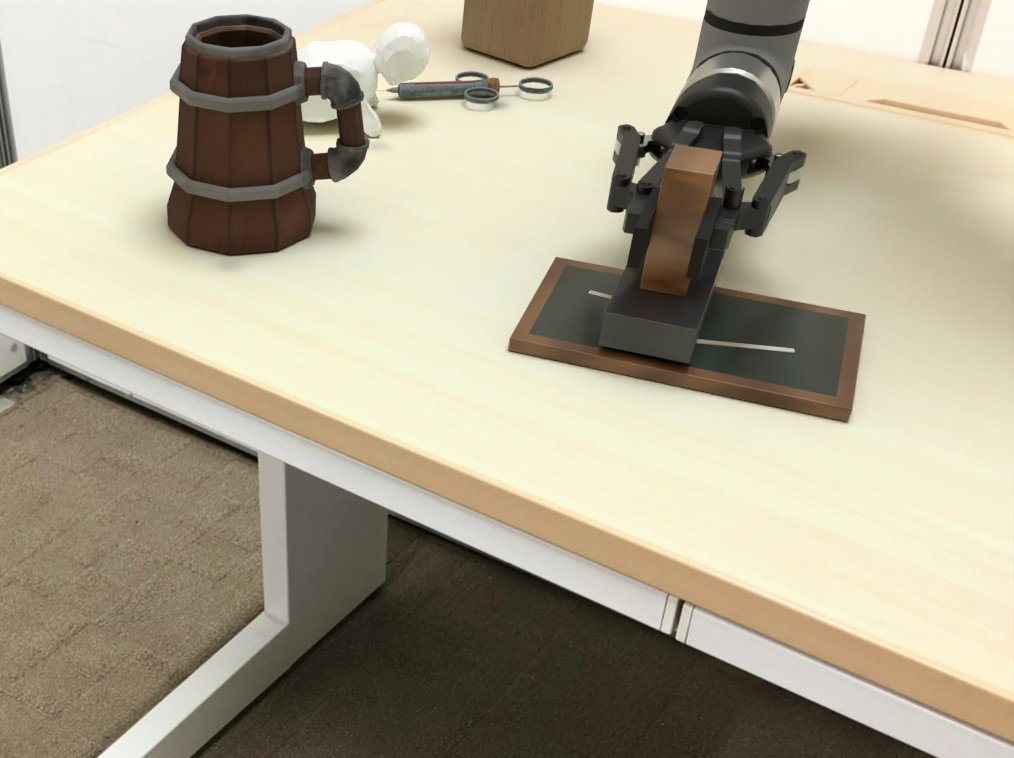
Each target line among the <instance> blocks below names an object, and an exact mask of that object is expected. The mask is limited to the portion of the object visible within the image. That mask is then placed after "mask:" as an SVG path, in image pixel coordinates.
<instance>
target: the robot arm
mask: <svg viewBox="0 0 1014 758" xmlns="http://www.w3.org/2000/svg"><path fill="white" fill-rule="evenodd" d="M810 1H811V0H707V1H706V5H705V10H704V11H705V12H704V15H703V18H702V21H701V22H702V23H701V26H700V27H701V28H700V32H699V38H698V41H697V46H696V50H695V51H696V52H695V56H694V59H693V64H692V68H691V71H690V73H689V75H688V78H687V79H686V81H685V83H684V85H683V86H682V89H681V90H680V92H679V94H678V96H677V98H676V100H675V102H674V104H673V106H672V108H671V110H670V112H669V114H668V116H667V118H666V120H665V121H664V124H662V125H659V126H658V127H656V128H655V129H654V130H653V131H652V132H651V134H646V133H645V131H638V130H637V128H636V127H635V126H634V125H632V124H628V123H625V124H624V123H623V124H619V125H618V126H617V132H616V137H615V142H614V148H613V154H612V161H613V163H614V168H613V171H612V176H611V181H610V186H609V192H608V196H607V197H608V198H607V203H606V210H607V211H608V212H609V213H612V214H619V213H623V212H624V211H625V214H624V219H623V224H622V228H621V229H622V231H623V233H624V234H630V235H632V237H631V242H630V246H629V252H628V256H627V262H626V265H627V266H626V265H625V267H630V268H635V269H639V266H640V264H641V262H642V260H643V257H644V255H645V253H646V251H647V248H648V246H649V242H650V237H651V232H652V227H653V223H654V218H655V213H656V208H657V201H658V197H659V192H660V187H661V182H662V177H663V172H664V168H665V166H666V163H667V161H668V159H669V157H670V155H671V153H672V151H673V149H674V147H675V145H676V144H677V145H684V146H691V147H697V148H704V149H710V150H717V151H722V152H723V153H722V157H721V161H720V166H719V170H718V174H717V178H716V183H715V187H714V191H713V195H712V196H711V199H710V201H709V204H708V206H707V209H706V212H705V214H704V216H703V218H702V221H701V224H700V226H699V229H698V231H697V234H696V236H695V240H694V244H693V248H692V253H691V257H690V261H689V266H688V270H687V274H686V278H690V279H695V280H698V278H699V276H700V273H701V270H702V267H703V265H704V262H705V259H706V256H707V254H708V251H709V248H710V249H716V250H722V251H726V250H728V249H729V246H730V244H731V241H732V238H733V235H734V233H735V232H736V231H743V233H744V234H745V236H748V237H752V238H759V237H762V236H763V235H764V233H765V232H766V229H767V228H768V226H769V224H770V222H771V221H772V219H773V217H774V215H775V213H776V211H777V209H778V208H779V205H780V203H781V202H782V200H783V198H784V196H787V195H789V194H790V193H792V192H794V191H796V190H798V189H799V185H800V181H801V177H802V175H803V171H804V167H805V163H806V160H807V157H808V154H807V152H805V151H802V150H799V149H795V150H790V151H787V152H786V153H782V152H776V153H775V154H774V153H773V145H772V144H771V143H770V141H771V137H772V133H773V131H774V128H775V125H776V122H777V120H778V117H779V112H780V109H781V104H782V101H783V99H784V96H785V94H786V93H787V92H788V90H789V87H790V83H791V81H792V77H793V73H794V69H795V64H796V55H797V51H798V46H799V43H800V39H801V36H802V35H801V34H802V31H803V28H804V24H805V20H806V16H807V12H808V8H809V6H810V5H809V4H810V3H811V2H810ZM646 154H649V156H650V157H651V158H652V159H653V160H654V161H655V162H656V163H655V164H654V165H653V166H652V167H650V168H649V170H648V171H647V172H646V173H645V174H644V175H643V176H642V177H641V178H640V179H639V180H638V181H637V183H636V182H633V180H634V175H635V173H636V172H635V171H636V167H638V166H640V163H641V159H644V158H645V157H646ZM762 174H764V176H763V179H762V180H761V182H760V184H759V186H758V188H757V189H756V191H755V192H754V195H753V196H752V198H751V201H743V197H744V193H745V190H746V187H742V186H743V185H742V180H746V179H749V178H753V177H756V176H759V175H762Z"/></svg>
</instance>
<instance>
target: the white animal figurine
mask: <svg viewBox="0 0 1014 758" xmlns="http://www.w3.org/2000/svg"><path fill="white" fill-rule="evenodd" d="M430 55H431V47H430V45H429V41H428V39H427V35H426V32H425V31H424V30H423V28H421V27H420V26H419V25H417V24H415V23H412V22H408V21H407V22H406V21H399V22H395V23H394V24H392V25H390V26H389V27H387V28H385V30H383V32H381V34H380V35H379V36H378V38H377V40H376V41H375V51H373V52H372V51H371V50H370V48H369V47H368V46H367V45H365V44H364V43H363V42H361V41H358V40H354V39H339V40H337V39H336V40H332V41H329V40H326V41H325V40H324V41H323V40H313V41H310V42H308V43H306V44H304V45H303V46H302V47H300V48H299V49H298V50H297V57H298V61H302V62H305V63H306V65H307V67H322V64H323V62H324V61H327V62H328V63H331V64H336V65H339V66H341V67H342V68H344V69H345V70H347V71H348V72H350V73H351V74H352V76H353V77H354V78H355V79H356V80H357V81H358V83H359V86H360V88H361V91H363V93H364V99H363V101H361V107H362V117H363V126H364V134H365V135H367V136H368V137H371V138H377V137H379V136H380V135H381V133H382V123H381V119H380V117H379V115H378V114H377V113H376V111H375V110H374V109H373V107H376V106H378V105H379V103H380V101H379V98H378V95H377V91H378V81H379V79H378V75H379V74H381V76H382V77H383V78H384V79H385V81H386V82H387V83H388V85H389V86H391V87H392V86H394V87H395V86H398V84H400V83H405V82H407V81H412V80H415V79H417V78H418V77H419V76H420V75H422V73H423V72H424V71H425V70H426V68H427V66H428V64H429V61H430ZM301 109H302V119H303V122H307V123H318V124H321V123H325V122H330V121H333V120H335V119H336V120H337V111H336V110H335V109H332V108H331V101H330V100H329V99H326V100H322V98H321V95H315V96H309V98H308V101H307V102H305V103H302V104H301Z"/></svg>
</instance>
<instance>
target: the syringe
mask: <svg viewBox="0 0 1014 758" xmlns="http://www.w3.org/2000/svg"><path fill="white" fill-rule="evenodd" d="M463 78H478V79H473V80H462V79H463ZM531 83H535V84H536V83H537V84H542V85H546V86H548V87H543V88H536V87H535V88H534V87H529V86H525V84H531ZM502 88H504V89H505V88H518V89H519V90H520V91H522V92H523V93H526V94H531V95H532V94H533V95H544V94H548V93H551V92H552V91H553V88H554V82H553V81H551V80H550V79H548V78H545V77H538V76H531V77H530V76H529V77H524V78H521V79H520V80H519V81H518V84H512V85H501V81H500V78H499V77H490V76H489V75H488V74H486V73H484V72H481V71H476V70H475V71H473V70H469V71H467V70H466V71H462V72H459V73H457V74H456V75H455V79H454V80H442V81H441V80H440V81H410V82H402V83H400V84H398V85H397V86H396V87H395V86H394V87H391V88H388V89H385V90H384V89H383V90H378V89H377V92H384V91H385V92H387V93H391V94H397V96H398V98H420V97H421V98H422V97H424V98H425V97H451V96H452V97H453V96H463V98H464V100H466V101H467V102H469V103H471V104H476V105H489V104H493V103H496V102H497V101H498V100H499V98H500V90H501V89H502ZM473 96H483V98H481V97H473ZM484 96H485V97H486V96H489V98H484Z"/></svg>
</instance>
